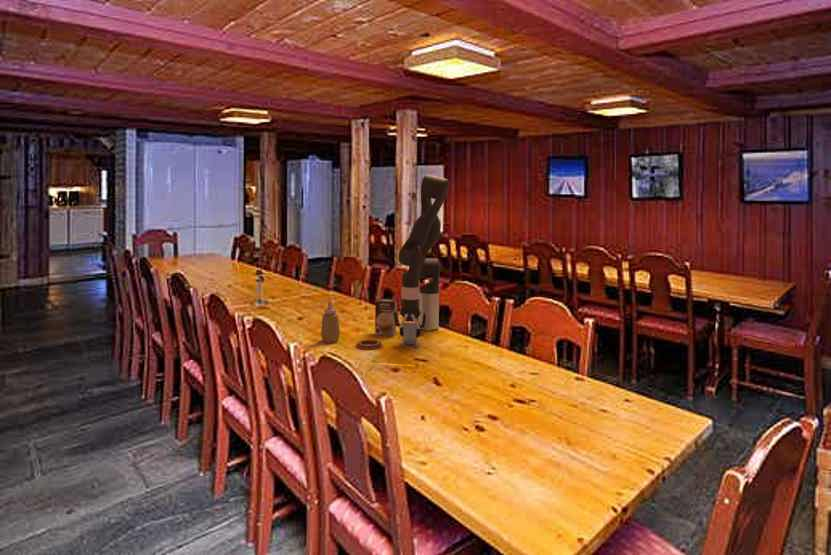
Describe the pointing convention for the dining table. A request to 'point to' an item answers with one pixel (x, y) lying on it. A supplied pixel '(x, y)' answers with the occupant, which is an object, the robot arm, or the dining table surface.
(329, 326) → the squeeze bottle
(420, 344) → the felt coaster
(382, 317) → the coffee box
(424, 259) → the robot arm
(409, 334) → the jug
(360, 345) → the stand
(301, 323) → the dining table surface
